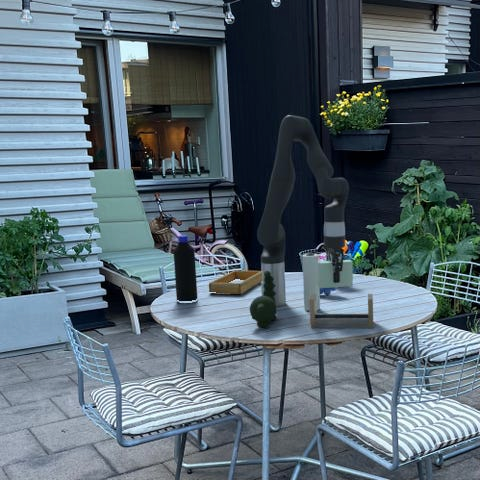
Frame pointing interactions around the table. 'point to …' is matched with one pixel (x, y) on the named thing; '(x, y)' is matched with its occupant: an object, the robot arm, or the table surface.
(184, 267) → the bottle
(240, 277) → the tray
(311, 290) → the paper towel roll
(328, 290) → the grapes
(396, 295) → the table surface
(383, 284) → the table surface
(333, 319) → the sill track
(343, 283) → the pale green rectangular block
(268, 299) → the toy figurine
